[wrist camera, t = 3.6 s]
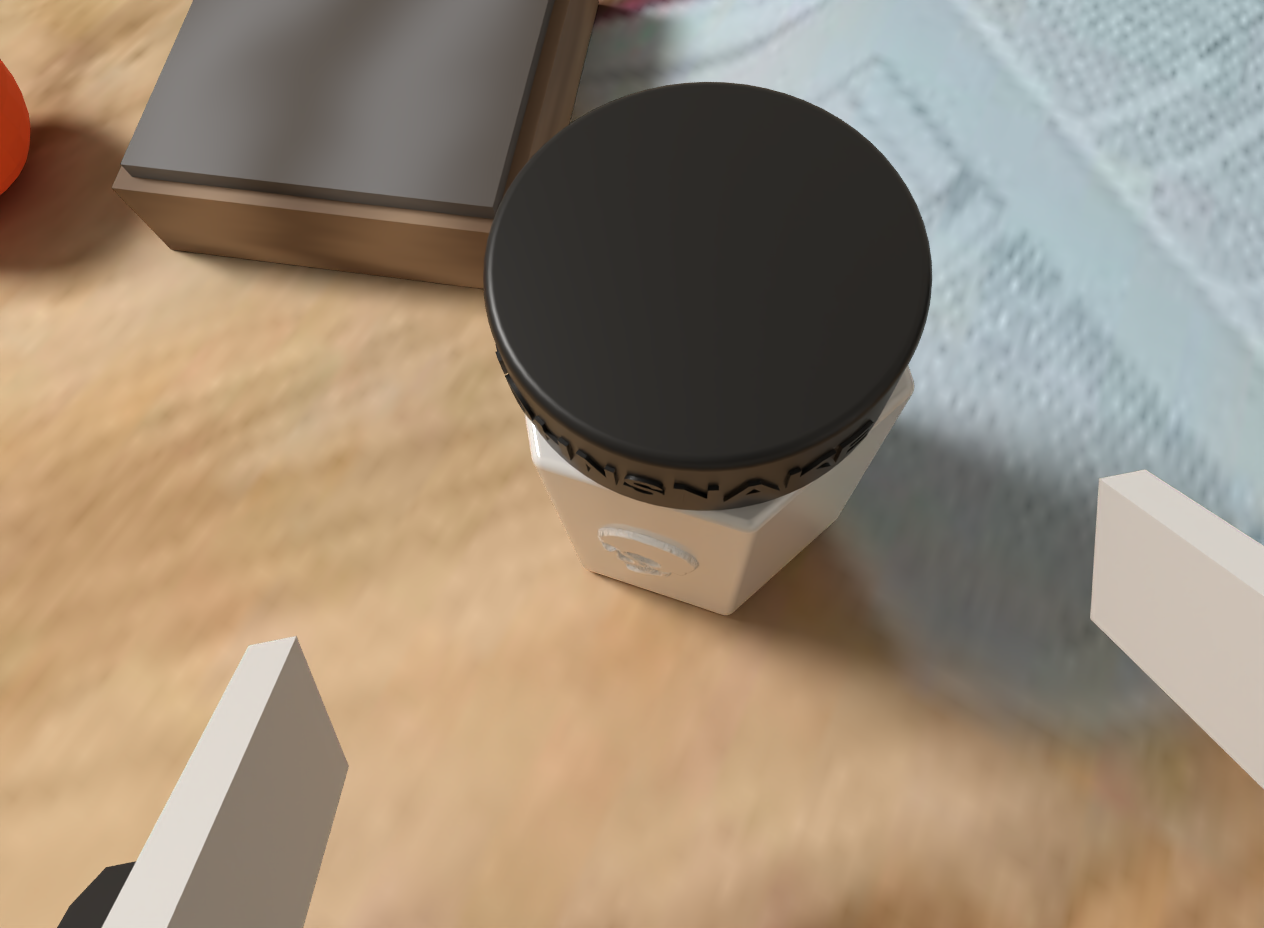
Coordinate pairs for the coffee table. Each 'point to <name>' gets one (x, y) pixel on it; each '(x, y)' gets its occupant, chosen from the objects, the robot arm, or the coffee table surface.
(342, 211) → the stand
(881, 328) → the jar
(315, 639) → the coffee table surface
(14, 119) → the clementine
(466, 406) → the coffee table surface
